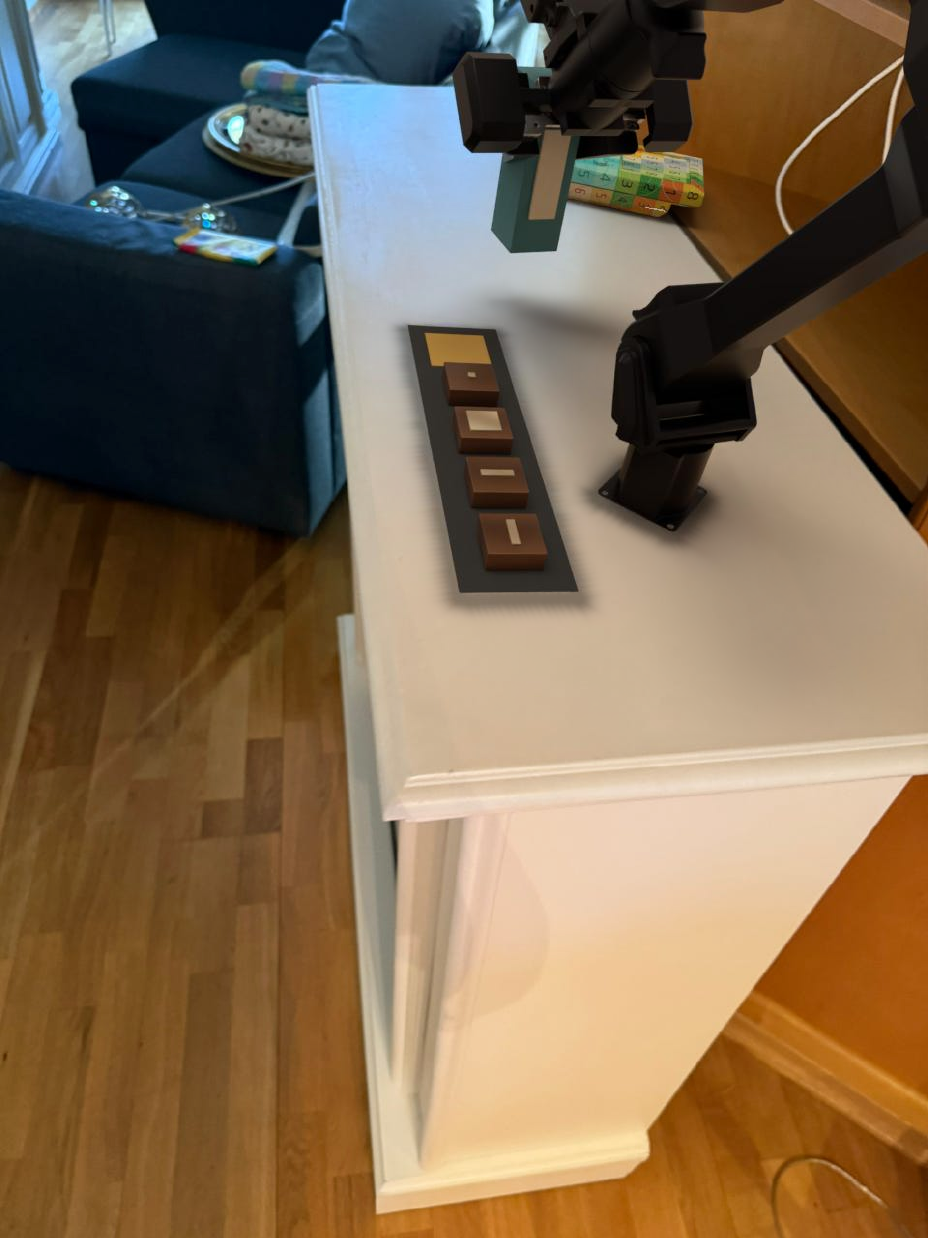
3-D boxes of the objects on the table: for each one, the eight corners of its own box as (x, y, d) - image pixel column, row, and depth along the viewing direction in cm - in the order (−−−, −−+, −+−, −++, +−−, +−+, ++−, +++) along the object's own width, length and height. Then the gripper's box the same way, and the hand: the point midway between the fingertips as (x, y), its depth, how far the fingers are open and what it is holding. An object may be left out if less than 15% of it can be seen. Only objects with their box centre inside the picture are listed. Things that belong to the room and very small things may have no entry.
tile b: (525, 508, 64) (530, 490, 63) (470, 508, 63) (474, 489, 62) (515, 473, 67) (519, 455, 66) (462, 472, 66) (465, 454, 65)
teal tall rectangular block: (558, 252, 79) (592, 87, 69) (511, 255, 77) (540, 86, 68) (534, 227, 82) (564, 66, 72) (489, 228, 80) (513, 64, 71)
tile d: (496, 407, 72) (500, 389, 71) (447, 405, 72) (450, 387, 70) (488, 379, 75) (492, 361, 74) (441, 377, 74) (443, 359, 73)
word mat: (577, 597, 59) (579, 590, 59) (458, 598, 58) (459, 591, 57) (494, 334, 81) (495, 328, 81) (406, 330, 80) (407, 323, 79)
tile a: (543, 570, 60) (548, 551, 59) (484, 570, 59) (488, 551, 58) (531, 529, 63) (536, 511, 61) (475, 529, 62) (479, 511, 61)
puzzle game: (542, 117, 109) (705, 151, 108) (535, 158, 112) (692, 191, 112) (532, 151, 101) (707, 187, 100) (524, 194, 104) (693, 229, 104)
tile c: (510, 454, 68) (514, 436, 67) (458, 453, 67) (461, 435, 66) (501, 423, 71) (505, 405, 70) (451, 422, 70) (454, 404, 69)
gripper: (724, -66, 63) (612, 60, 78) (480, -89, 57) (409, 53, 72) (746, 97, 64) (632, 191, 79) (508, 92, 58) (432, 196, 73)
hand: (530, 156), depth 75 cm, fingers closed on teal tall rectangular block, 4 cm apart
